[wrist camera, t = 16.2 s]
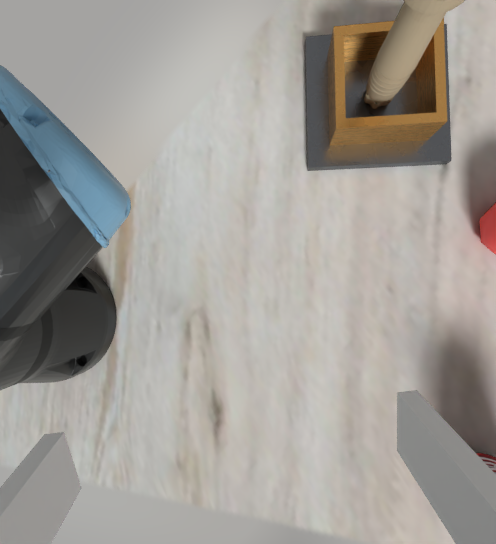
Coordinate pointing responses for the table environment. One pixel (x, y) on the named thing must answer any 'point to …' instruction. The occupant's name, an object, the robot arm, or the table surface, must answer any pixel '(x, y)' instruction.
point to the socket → (361, 116)
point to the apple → (489, 229)
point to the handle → (404, 47)
